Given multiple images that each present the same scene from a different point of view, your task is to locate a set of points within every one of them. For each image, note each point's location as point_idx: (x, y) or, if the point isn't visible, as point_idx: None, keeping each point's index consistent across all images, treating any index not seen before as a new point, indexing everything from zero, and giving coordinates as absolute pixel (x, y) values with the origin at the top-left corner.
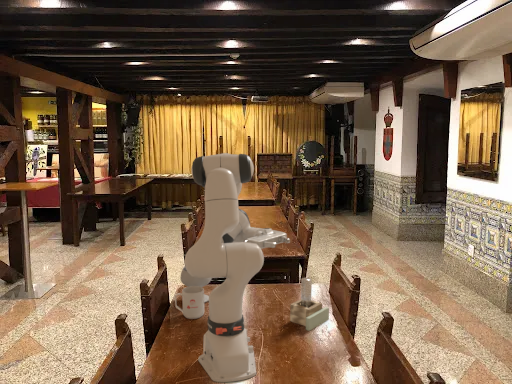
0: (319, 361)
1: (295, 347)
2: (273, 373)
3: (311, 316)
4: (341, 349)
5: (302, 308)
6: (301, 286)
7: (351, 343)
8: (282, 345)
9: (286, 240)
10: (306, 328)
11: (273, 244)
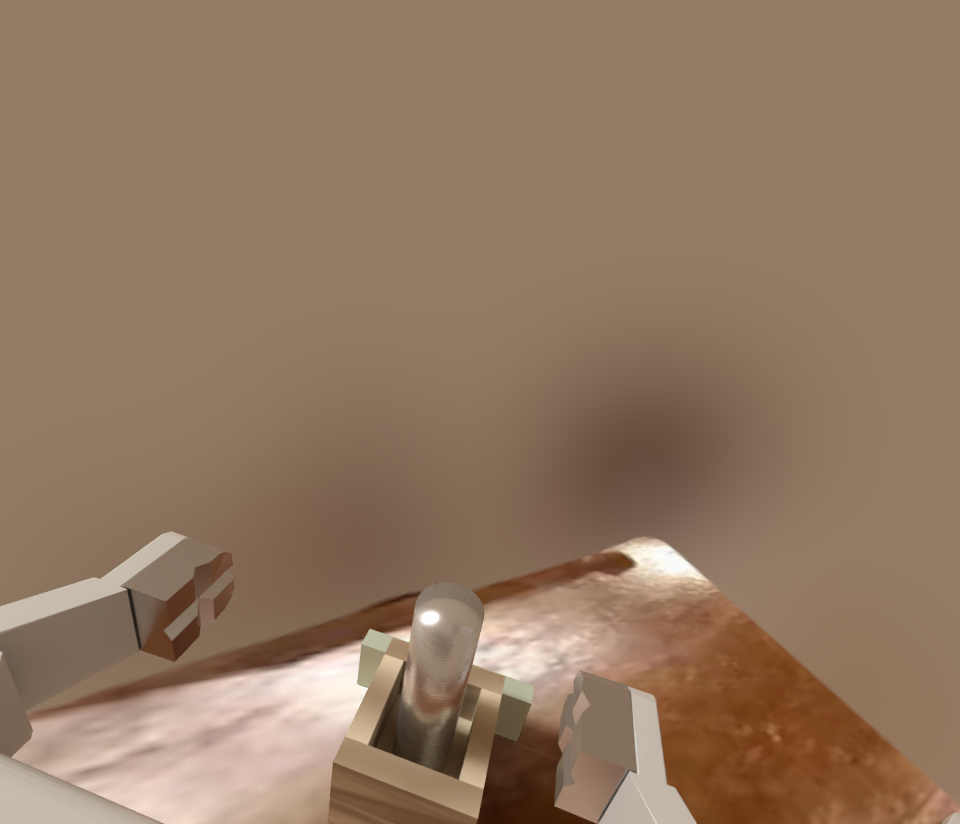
0: (684, 637)
1: (676, 737)
2: (869, 754)
3: (504, 682)
4: (578, 594)
5: (496, 720)
6: (462, 669)
7: (526, 575)
8: (708, 803)
9: (197, 589)
10: (520, 732)
11: (649, 701)
